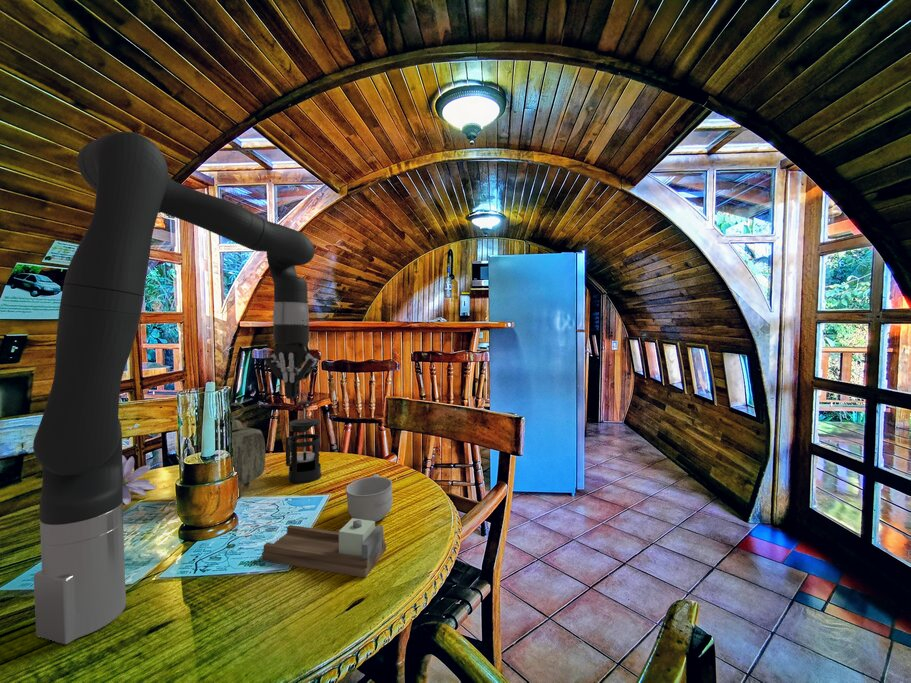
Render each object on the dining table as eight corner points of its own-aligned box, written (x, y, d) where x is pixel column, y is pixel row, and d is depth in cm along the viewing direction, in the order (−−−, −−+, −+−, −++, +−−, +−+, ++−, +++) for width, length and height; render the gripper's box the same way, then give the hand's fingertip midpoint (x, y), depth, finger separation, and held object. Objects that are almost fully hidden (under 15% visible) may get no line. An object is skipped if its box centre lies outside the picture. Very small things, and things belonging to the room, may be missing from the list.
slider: (363, 560, 73) (362, 530, 73) (338, 557, 74) (338, 527, 74) (375, 545, 78) (375, 517, 78) (352, 542, 79) (352, 514, 79)
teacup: (382, 531, 87) (382, 496, 87) (337, 525, 89) (337, 491, 89) (402, 503, 101) (402, 472, 100) (363, 499, 103) (363, 469, 103)
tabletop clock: (248, 483, 113) (247, 397, 112) (269, 489, 109) (268, 400, 108) (195, 503, 100) (193, 406, 99) (216, 511, 96) (214, 410, 95)
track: (365, 577, 71) (365, 548, 71) (262, 560, 76) (261, 532, 76) (385, 550, 80) (385, 523, 80) (291, 536, 85) (291, 511, 85)
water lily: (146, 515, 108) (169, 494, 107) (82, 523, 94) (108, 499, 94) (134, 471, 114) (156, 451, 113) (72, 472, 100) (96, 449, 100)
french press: (329, 474, 120) (329, 399, 119) (309, 485, 111) (308, 405, 110) (298, 469, 124) (297, 397, 123) (276, 480, 115) (275, 402, 114)
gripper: (254, 322, 87) (255, 399, 88) (307, 322, 84) (307, 402, 85) (277, 322, 94) (278, 394, 95) (326, 323, 91) (326, 396, 92)
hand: (292, 398), depth 90 cm, fingers closed
